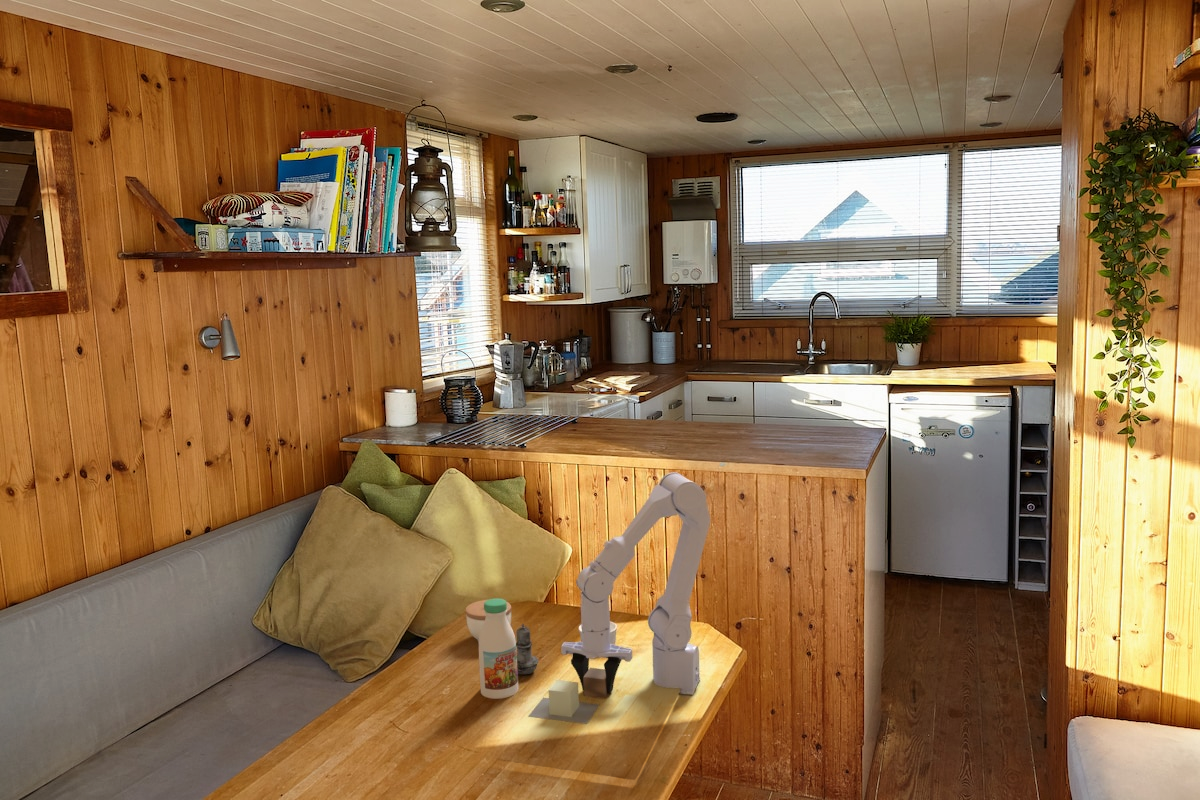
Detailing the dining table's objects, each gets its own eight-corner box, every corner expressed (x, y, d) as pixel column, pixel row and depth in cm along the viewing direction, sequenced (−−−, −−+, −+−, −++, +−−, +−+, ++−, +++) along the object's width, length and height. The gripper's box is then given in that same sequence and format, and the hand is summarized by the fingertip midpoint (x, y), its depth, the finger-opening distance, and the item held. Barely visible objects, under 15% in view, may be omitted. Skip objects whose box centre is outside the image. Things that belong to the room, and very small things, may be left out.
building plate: (599, 709, 186) (599, 704, 186) (587, 728, 178) (586, 723, 178) (543, 702, 189) (543, 697, 189) (528, 721, 182) (528, 716, 182)
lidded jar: (521, 634, 224) (520, 597, 222) (493, 651, 215) (491, 612, 213) (486, 626, 229) (484, 589, 228) (457, 642, 221) (455, 604, 219)
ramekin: (574, 650, 214) (573, 632, 213) (585, 635, 223) (585, 618, 222) (611, 654, 212) (610, 635, 211) (622, 638, 220) (621, 621, 219)
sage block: (578, 706, 185) (578, 682, 184) (571, 717, 181) (570, 692, 180) (557, 703, 186) (556, 679, 186) (549, 714, 182) (548, 690, 182)
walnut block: (611, 693, 193) (611, 670, 192) (605, 703, 188) (604, 679, 188) (591, 690, 194) (590, 667, 193) (584, 700, 190) (583, 677, 189)
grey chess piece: (535, 683, 198) (532, 629, 196) (508, 681, 199) (505, 628, 197) (542, 671, 204) (539, 618, 202) (516, 669, 205) (513, 617, 203)
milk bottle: (473, 698, 192) (468, 605, 189) (494, 683, 199) (490, 592, 196) (505, 706, 188) (500, 611, 185) (525, 690, 195) (521, 598, 192)
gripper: (554, 630, 187) (557, 694, 189) (624, 637, 183) (626, 703, 185) (566, 617, 194) (569, 679, 196) (634, 624, 189) (636, 687, 192)
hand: (597, 690), depth 191 cm, fingers closed on walnut block, 4 cm apart
